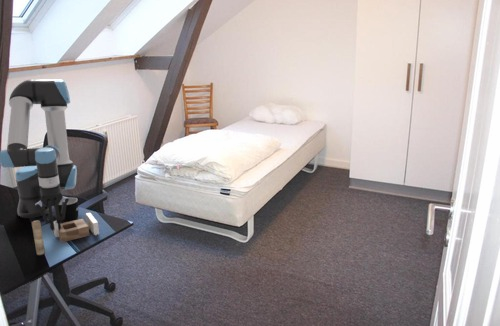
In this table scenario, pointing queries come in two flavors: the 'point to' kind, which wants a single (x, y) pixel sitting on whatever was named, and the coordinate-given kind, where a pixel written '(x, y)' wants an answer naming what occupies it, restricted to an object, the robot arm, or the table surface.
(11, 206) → the table surface
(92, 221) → the rail
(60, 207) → the mug
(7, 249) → the table surface
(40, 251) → the dowel
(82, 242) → the table surface
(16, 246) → the table surface
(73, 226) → the block
